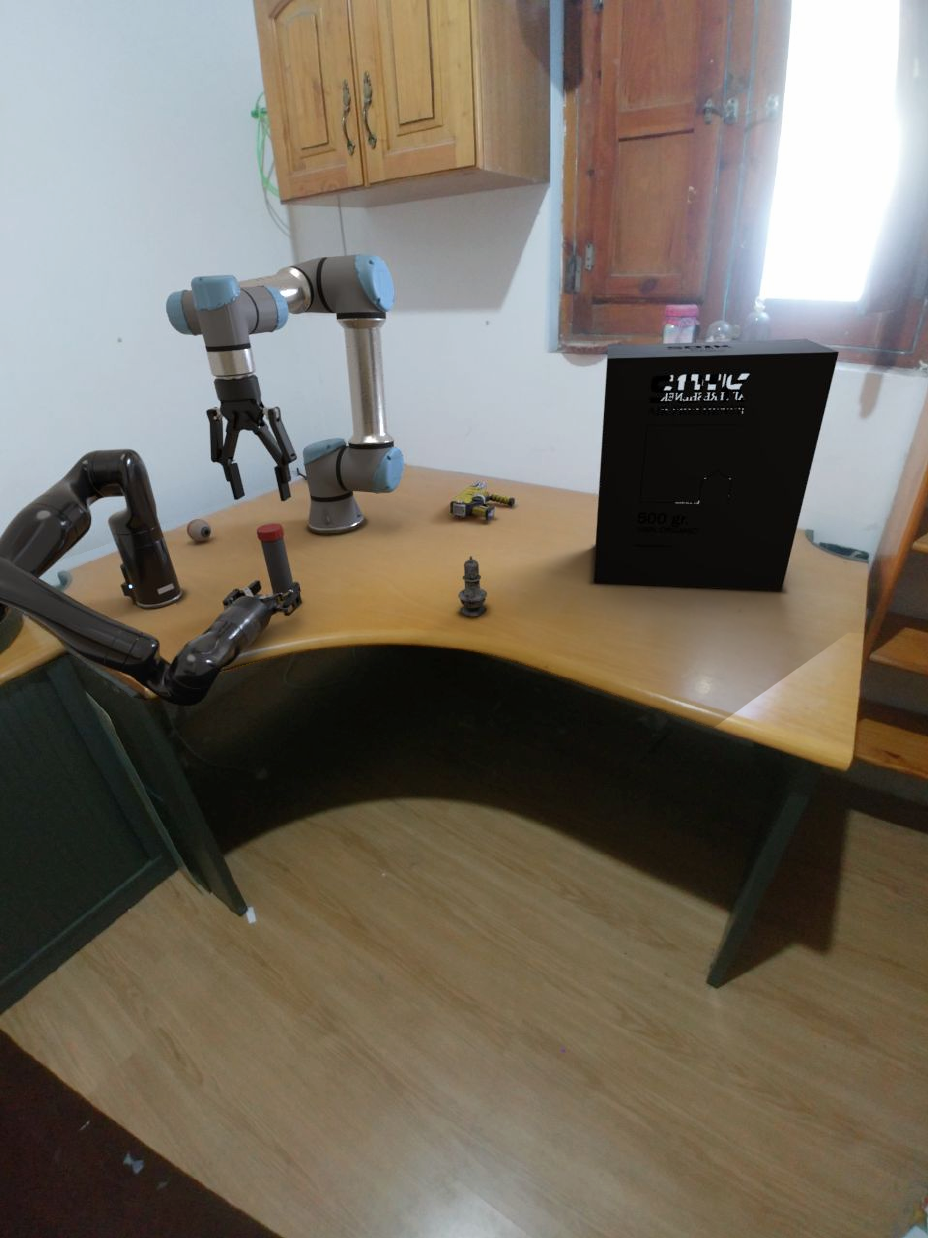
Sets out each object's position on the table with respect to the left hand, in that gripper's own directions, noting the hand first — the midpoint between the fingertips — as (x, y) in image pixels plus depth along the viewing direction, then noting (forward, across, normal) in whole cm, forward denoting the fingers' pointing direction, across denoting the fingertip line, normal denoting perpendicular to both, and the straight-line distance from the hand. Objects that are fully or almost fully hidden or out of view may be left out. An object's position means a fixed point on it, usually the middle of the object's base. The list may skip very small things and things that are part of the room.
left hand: (278, 585), depth 125 cm
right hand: (+2, 0, +18) cm, 18 cm away
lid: (+2, 0, +12) cm, 12 cm away
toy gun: (+63, +35, -5) cm, 72 cm away
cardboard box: (+26, +84, -5) cm, 88 cm away
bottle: (+2, 0, -6) cm, 6 cm away
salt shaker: (+2, +40, -5) cm, 41 cm away
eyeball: (+35, -39, -6) cm, 53 cm away
